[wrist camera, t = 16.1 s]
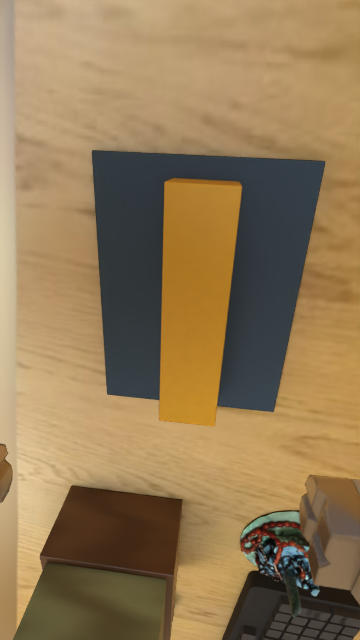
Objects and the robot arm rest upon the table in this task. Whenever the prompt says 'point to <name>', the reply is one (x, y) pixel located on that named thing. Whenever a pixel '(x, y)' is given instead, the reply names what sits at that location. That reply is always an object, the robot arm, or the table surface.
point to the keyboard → (277, 621)
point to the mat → (247, 277)
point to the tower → (107, 569)
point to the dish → (280, 553)
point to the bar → (195, 294)
